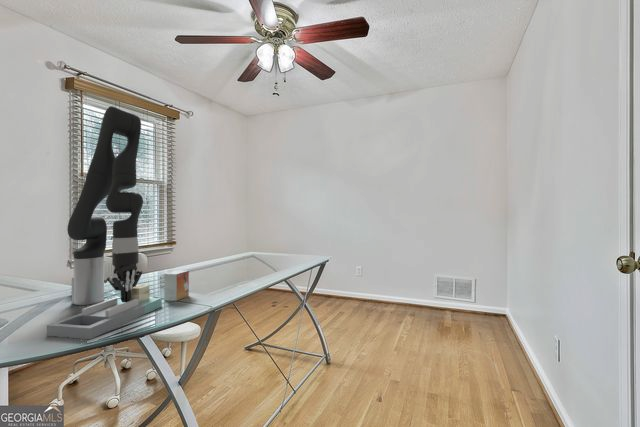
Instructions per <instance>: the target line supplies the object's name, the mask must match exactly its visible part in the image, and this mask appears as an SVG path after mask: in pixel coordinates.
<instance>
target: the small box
mask: <svg viewBox="0 0 640 427" xmlns="http://www.w3.org/2000/svg"><path fill="white" fill-rule="evenodd" d="M189 275H190V271H189V270H184V269H183V270H180V269H179V270H174V271H171V272H168V273H164V276H163V277H164V278H163V280H164V281H163V282H164V283H163V286H164V287H163V290H164V291H163V292H164V293H163V294H164V295H163V298H164V301H168V302H169V301H170V302H172V301H173V302H177V301H179V300H182V299H184V298H188V297H189V295H190V294H189V292H190V288H189V287H190V286H189V283H190V279H189V278H190V277H189Z"/></svg>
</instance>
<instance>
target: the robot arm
mask: <svg viewBox="0 0 640 427" xmlns="http://www.w3.org/2000/svg"><path fill="white" fill-rule="evenodd" d="M99 129H100V131H99V135H98V140H97V143H96V146H95V150H94V153H93V156H92V159H91V161H90V164H89V167H88V170H87V173H86V177H85V181H84V183H83V186H82V189H81V192H80V194H79V195H80V196H79V197H78V201H77V202H76V205H75V207H74V209H73V211H72V214H71V215H70V218H69V220H68V224H67V229H66V230H67V234H68V237H69V238H70V239H71V240H73V241H85V243H84V245H82V246H81V247H79V248H77V249H76V250H74V251H73V278H71V304H74V305H75V306H87V305H88V306H89V305H95V304H98V303H101V302H104V301H105V283H104V280H105V262H104V261H105V255H104V254H105V251H106V248H107V234H108V225H107V222H106V220H105V218H104V217H103V216H101V215H93V214H94V212H95V210H96V209H97V207H98V206H99V205H100V204H101V202H102V201H103V200H104V199H105V198H106V200H105V207H106V209H107V211H109V212H110V213H113V214H115V213H116V214H123V213H125V214H126V213H128V214H129V213H130V216H128V217H126V218H123V219H119V220H115V221H114V222H113V224H112V243H111V244H112V248H111V249H112V250H111V252H112V253H111V255H112V256H111V257H112V260H111V262H112V264H111V265H112V266H113V267H114V270H113V274H112V275H111V277H110V276H108V277H107V278H108V279H107V278H106V279H107V283H109V284H110V285H111V286H112V288H113V289H114V290H115V291H118V292H120V299H121V301H122V302H129V301H130V300H131V290H132V288H133V287H136V285H138V283H139V281H140V279H141V277H142V274H143V271H141V270H138V266H137V265H138V264H139V260H140V259H139V241H138V223H139V218H140V214H141V211H142V207H143V204H144V198H143V195H141V194H140V193H139V192H131V191H130V192H129V191H123V190H129V189H133V188H135V186H136V185H137V157H138V151H139V146H140V140H141V139H140V138H141V130H142V121H141V118H140V117H139V116H138V115H137V114H135V113H133V112H130V111H127V110H125V109H121V108H120V107H117V106H113V105H112V106H108V107H107V108H106V109H105V112H104V114H103V116H102V121H101V125H100V128H99ZM114 134H115V135H118V136H120V137H125V138H126V141H127V142H126V145H125V147H124V148H123V149H122V150H120V152H119V153H118V154H117V155H116V156H115V153H114V149H113V137H114Z"/></svg>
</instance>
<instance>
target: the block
mask: <svg viewBox="0 0 640 427" xmlns="http://www.w3.org/2000/svg"><path fill="white" fill-rule="evenodd" d="M150 298H151V297H150V284H137V285H136V287H133V288H132V290H131V300H134V299H139V303H140V302H143V301H145V300H148V299H150ZM131 300H130V301H131Z"/></svg>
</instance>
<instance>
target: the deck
mask: <svg viewBox="0 0 640 427" xmlns="http://www.w3.org/2000/svg"><path fill="white" fill-rule="evenodd" d="M162 301H163V300H162V297H150V299H148V300H145V301H143V302H140V303H139V299H134V300H131V301H129V302H122V301H121V298H120V299H118V297H113V298H110V299H107V300H103V301H101V302H98V303H95V304H91V305H90V306H89V305H88V306H87V307H86V306H85V307H83V308H81V313H78V314H75V315H72V316H69V317H66V318H63V319H60V320H57V321H55V322H52V323H49V324H47V325H46V337H54V336H58V337H57V338H67V337H69V338H70V339H81V340H82V339H83V340H92V339H95V338H96V337H98V336H101V335H102V334H105V333H107V332H109V331H112V330H113V329H116V328H118V327H120V326H122V325H124V324H127V323H128V322H131V321H133V320H135V319H137V318H140V317H142V316H144V315H145V314H148V313H150V312H152V311H154V310H157V309H159V308H161V307H162V303H163V302H162Z"/></svg>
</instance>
